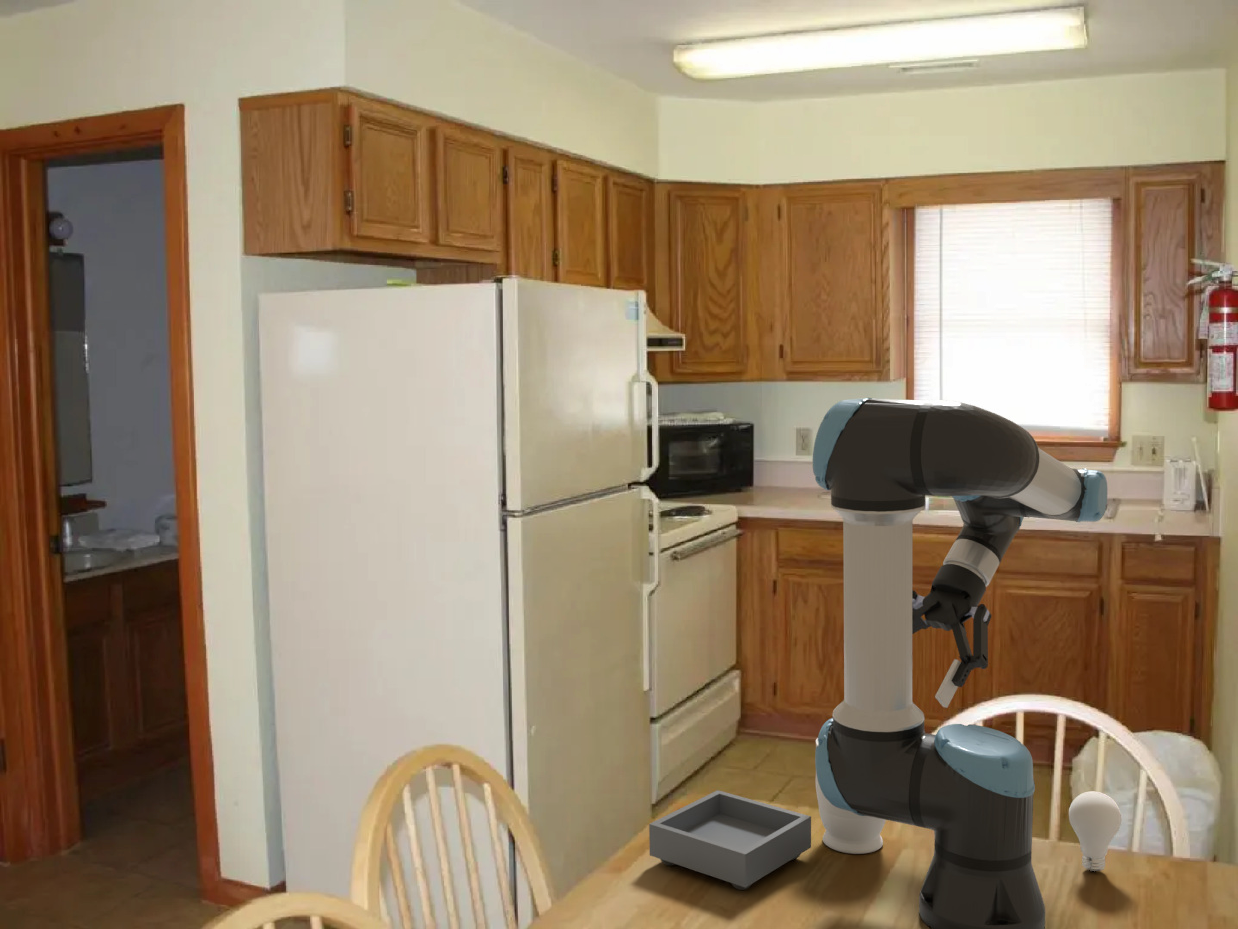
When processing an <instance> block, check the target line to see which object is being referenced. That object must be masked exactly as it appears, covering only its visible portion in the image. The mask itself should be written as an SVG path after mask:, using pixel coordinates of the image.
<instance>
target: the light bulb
mask: <svg viewBox="0 0 1238 929" xmlns="http://www.w3.org/2000/svg"><path fill="white" fill-rule="evenodd" d="M1069 806H1070V807H1069V809H1068V819H1069V823H1070V826H1071V827H1072V830H1073V831H1074V832H1075V835H1076V837H1077V838H1078V841H1079V845H1080V852H1081V853H1082V856H1081V866H1082V867H1083V868H1084V869H1086V870H1088V871H1089V870H1090V872H1092V871H1094V872H1093V873H1096V872H1095V871H1097V872H1101V871H1103V870H1104V868H1105V867H1106V856H1107V854H1108V852H1109V851H1108V850H1109V847H1110V846H1109V845H1110V844H1111V842H1112V840H1113V839H1114V837H1115V836H1116V835H1117V833H1118V832H1119V831H1120V828H1121V825H1122V813H1121V809H1120V808H1119V806H1118V804H1117V802H1116V801H1115V800H1114V799H1113V798H1112V797H1110V796H1109V795H1107V794H1105V793H1103V792H1100V791H1093V790H1090V791H1085V792H1082V793H1081V794H1078V795H1077V796H1076V797H1075V798H1074V799H1073V800H1072V801H1071V803H1070V805H1069Z"/></svg>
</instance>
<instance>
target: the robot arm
mask: <svg viewBox="0 0 1238 929" xmlns="http://www.w3.org/2000/svg"><path fill="white" fill-rule="evenodd" d="M815 435H816V437H815V440H814V445H813V449H812V450H813V451H812V472H813V475H814V476H815V482H816V484H817V485H818V486H819V487H820V488H823V490H825V491H830V505H831V508H832V509H833V510H834V511H835V512H836V513H837V514H838V515H839V516H840V517H841V519H842V520H843V522H842V525H843V528H842V529H843V530H842V531H843V532H842V534H843V537H842V538H843V543H842V545H843V549H842V550H843V656H844V657H843V659H844V660H843V667H844V668H843V674H844V675H843V679H844V681H843V682H844V683H843V684H844V685H843V686H844V688H843V689H844V690H843V692H844V693H843V694H844V696H843V697H844V698H843V700H842V701H841V702H840V703H839V704H837V706H836V707H835V708H834V709H833V711H832V717H831V718H829V719H828V720H826V721H825V722H824V723H823V725H822V726H821V728H820V730H819V733H818V737H817V738H818V743H819V744H818V746H817V747H816V746H815V752H814V753H815V756H814V758H815V759H814V761H815V763H814V764H815V775H816V774H817V779H818V783H819V786H820V789H821V791H822V793H823V795H824V796H825V798H826V799H827V800H828V801H829V802H830V803H831V804H832V805H833V806H835V807H837V808H840V809H844V810H847V811H851V812H853V813H855V814H857V815H860V816H871V817H875V818H880V819H885V820H886V821H891V822H894V823H901V824H904V825H909V826H914V827H919V828H924V829H929V830H931V831H933V832H934V844H933V845H934V851H933V856H932V857H931V858H932V859H931V861H930V865H929V866H928V869H927V872H926V875H925V878H924V879H923V883H922V886H921V888H920V891H919V899H918V900H919V901H918V902H919V906H918V907H919V909H918V911H919V912H918V913H919V916H920V918H921V920H922V922H924V924H926V926H928V927H929V926H930V927H931V929H932V928H933V929H1045V928H1044V927H1046V906H1045V903H1044V899H1043V895H1042V893H1041V889H1040V887H1039V883H1038V880H1037V876H1036V874H1035V871H1034V868H1033V864H1032V861H1033V860H1032V852H1033V851H1032V850H1033V849H1032V848H1033V824H1034V823H1033V820H1034V818H1033V816H1034V815H1033V814H1034V792H1035V790H1036V787H1035V785H1036V783H1035V779H1034V763H1033V762H1034V761H1033V757H1032V755H1031V752H1030V751H1029V749H1028V748H1027V747H1026V746H1025V745H1024V744H1023V743H1022V742H1021V741H1019V739H1017V738H1015V737H1013V736H1011V735H1009V734H1007V733H1005V732H1004V731H1001V730H997V729H994V728H990V727H989V726H988V727H987V726H982V725H978V724H967V725H964V724H962V723H952V724H948V725H944V726H942V727H940V728H939V729H938V730H937V732H936V734H934V733H933V734H932V733H927V732H926V731H925V714H924V712H923V711H922V710H921V709H920V708H919V707H918V706H917V705H916V704H915V703H914V702H913V634H915V633H917V632H919V631H921V630H927V629H928V628H930V627H931V628H933V629H942V630H944V631H947V632H950V631H951V630H952V633H953V636H954V637H953V638H954V641H955V644H956V647H957V650H958V654H959V656H958V658H959V659H960V660H959V659H956V658H954V659H953V661H952V663H951V665H950V666H949V668H948V671H947V673H946V674H945V677H944V679H943V680H942V682H941V684H940V686H939V688H938V690H937V692H936V693H935V696H934V697H935V699H936V700H937V701H938V702H939V704H940V705H941V706H942V707H943V708H946V709H947V708H948V707H949V705H950V704H951V701H952V699H953V698H954V695H955V693H956V692H957V690H958V688H962V687H963V686H964V685H965V684H966V682H967V679H968V677H969V675H970V673H971V672H972V671H973V670H975V669H977V668H978V669H979V668H980V669H981V670H985V669H987V668H988V666H989V641H988V639H989V638H988V637H989V633H988V632H989V630H988V629H989V628H988V627H989V624H990V622H991V618H992V616H993V615H992V614H991V612H990V610H989V609H988V607H987V606H986V605H985V604H983V603H981V600H982V598H983V596H984V595H985V593H986V591H987V587H988V586H989V585H990V583H991V581H992V579H993V577H994V575H995V573H996V572H997V570H998V568H999V565H1000V564H1001V562H1002V560H1003V558H1004V556H1005V554H1006V552H1007V550H1008V549H1009V547H1010V545H1011V543H1012V541H1013V539H1014V538H1015V535H1017V533H1018V532H1019V531H1020V528H1021V526H1022V523H1023V520H1024V518H1028V519H1029V518H1033V519H1034V518H1035V519H1043V520H1044V519H1045V520H1057V521H1067V522H1076V523H1081V522H1087V523H1089V522H1091V523H1095V522H1099V521H1100V520H1101V519H1103V517H1104V516H1105V513H1106V508H1107V503H1108V482H1107V478H1106V476H1105V475H1106V474H1104V473H1103V472H1102V471H1100V470H1093V469H1092V470H1091V469H1087V468H1086V467H1085V468H1071V467H1069V466H1068V465H1066V464H1064V463H1063V462H1061V461H1060V460H1058V459H1057V458H1055V457H1054V456H1052V455H1050V454H1049V453H1047V452H1046V451H1044V450H1043V449H1041V448H1039V446H1038V444H1037V442H1036V440H1035V438H1034V437H1033V436H1032V435H1031V433H1030V432H1029V431H1027V430H1026V429H1025V428H1023V427H1022V426H1021V425H1019V424H1018V423H1016V422H1014V421H1012V420H1010V419H1008V418H1006V417H1004V416H1002V415H999V414H997V413H995V412H992V411H989V410H988V409H985V408H982V407H978V406H976V405H972V404H968V403H964V402H961V401H954V400H945V399H942V400H940V399H939V400H928V399H927V400H925V399H924V400H923V399H920V400H919V399H917V400H916V399H899V398H898V399H896V398H893V399H892V398H876V397H875V398H874V397H866V398H853V399H852V398H851V399H849V398H848V399H843V400H840V401H837V403H834V404H833V405H831V407H830V408H829V409H828V410H827V412H826V413H825V415H824V417H823V419H822V420H821V422H820V424H819V427H818V429H817V432H816V434H815ZM926 496H935V497H937V496H938V497H948V496H949V497H952V498H953V500H954V503H955V505H956V508H957V510H958V513H959V515H960V518H961V520H962V522H963V524H962V528H961V529H960V532H959V533H958V535H957V537H956V539H955V541H954V542H953V544H952V546H951V548H950V549H949V551H948V552H947V554H946V556H945V558H944V560H943V563H942V564H943V565H941V566H940V567H939V570H938V571H937V573H936V574H935V577H934V578H933V580H932V582H931V589H930V592H929V593H928V594H927V595H926V596H922V595H920V594H918V593H917V592H916V590H913V544H914V543H913V537H914V536H913V535H914V534H913V529H914V528H913V521H914V519H915V517H916V516H917V515H918V514H920V513H921V511H923V510H924V508H925V507H926ZM980 603H981V604H980ZM922 616H924V618H923V617H922ZM971 618H972V619H973V620H972V622H973V623H972V624H973V626H972V627H973V628H972V630H973V632H972V634H973V635H972V640H973V641H972V642H973V643H972V647H973V649H971V646H970V643H969V640H968V637H967V630H966V627H965V623H966V621H968V620H970V619H971ZM972 651H973V652H972ZM930 927H929V928H930Z"/></svg>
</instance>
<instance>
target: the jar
mask: <svg viewBox="0 0 1238 929" xmlns="http://www.w3.org/2000/svg"><path fill="white" fill-rule="evenodd" d="M818 744H819V743H818V737H817V738H816V739H815V748H816V747H817V746H818ZM815 790H816V792H815V793H816V799H817V802H818V803H817V804H818V813H819V816H820V820H821V822H822V825H823V827H824V830H825V831H824V833H823V836H822V842H823V843H824V845H825V846H826V847H828V848H830V849H832V850H834V851H837V852H841V853H845V854H851V855H863V854H869V853H873V852H876V851H878V850H879V849H881V848H882V847H883V844H884V839H883V838H882V836H881V833H882V831H883V828H884V826H885V824H886V821H887V820H885V819H880V818H875V817H871V816H860V815H857V814H855V813H853V812H851V811H847V810H844V809H840V808H837V807H835V806H833V805H832V804H831V803H830V802H829V801H828V800H827V799H826V798H825V796H824V795H823V793H822V791H821V789H820V786H819V783H818V779H817V774H816V773H815Z"/></svg>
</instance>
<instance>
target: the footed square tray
mask: <svg viewBox="0 0 1238 929" xmlns="http://www.w3.org/2000/svg"><path fill="white" fill-rule="evenodd" d="M648 824H649V826H648V828H649V833H648V834H649V837H648V839H649V856H651V857H654V858H657V859H660V861H661V863H662V864H664V865H665V866H667V867H668V866H669V867H670V866H675V865H678V866H680V867H684V868H687V869H689V870H692V871H695V872H698V873H701V874H704V875H707V876H711V877H713V878H716V879H719V880H721V881H725V882H727V883H730V884H731V885H732V886H733V887H734V888H735V889H736V890H738V891H746V890H748V889H750V887H751V886H752V884H754V883H756V882H757V881H758V880H760V879H762V878H763V877H765V876H767V875H769V874H770V873H772V872H773V871H775V870H777V869H778V868H780V867H782V866H783V865H785V864H787V863H788V862H790V861H792V860H796V859H798V858H799V857H800V856H801V854H803V853H804V852H806V851H808V850H809V849H811V848H812V816H811V815H807V814H804V813H801V812H800V813H799V812H798V811H797V812H796V811H793V810H789V809H785V808H782V807H778V806H776V805H773V804H772V805H771V804H768V803H764V802H761V801H758V800H753V799H750V798H748V797H747V798H746V797H744V796H740V795H737V794H732V793H729V792H727V791H726V792H725V791H722V790H719V789H718V790H715V791H713V792H711V793H709V794H707V795H705V796H703V797H701V798H699V799H696V800H695V801H693V802H690V803H689V804H687V805H685V806H682V807H681V808H678V809H677V810H676V809H675V811H672V812H670V813H669V814H666V815H665V816H662V817H661V818H658V819H656V820H654V821H652V822H651V823H648Z"/></svg>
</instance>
